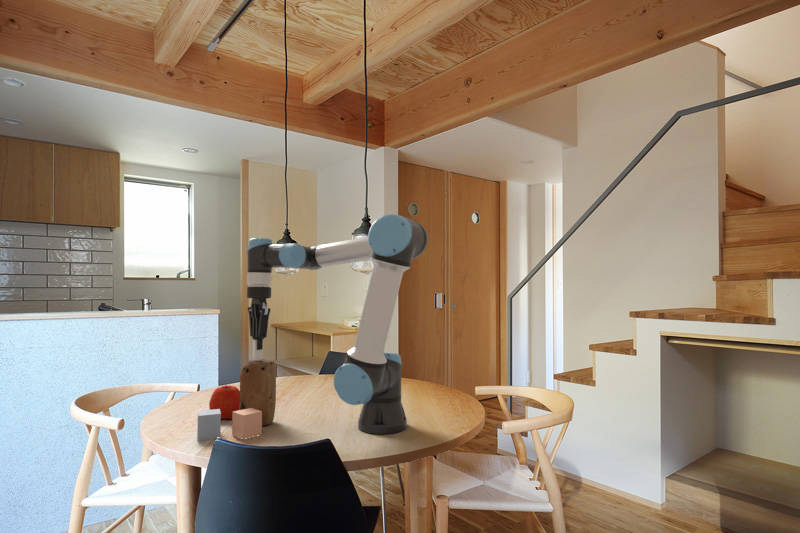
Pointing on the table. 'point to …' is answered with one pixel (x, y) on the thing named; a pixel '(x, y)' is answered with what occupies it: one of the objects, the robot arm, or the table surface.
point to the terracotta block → (246, 423)
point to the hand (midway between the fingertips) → (257, 359)
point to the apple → (225, 400)
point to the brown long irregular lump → (259, 388)
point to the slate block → (209, 424)
